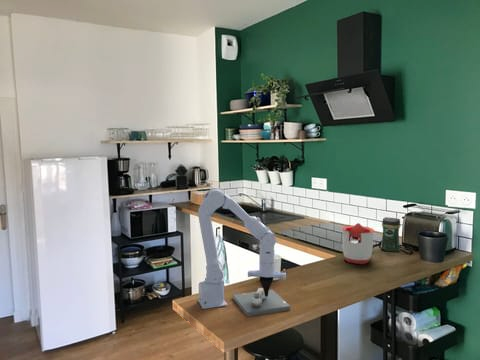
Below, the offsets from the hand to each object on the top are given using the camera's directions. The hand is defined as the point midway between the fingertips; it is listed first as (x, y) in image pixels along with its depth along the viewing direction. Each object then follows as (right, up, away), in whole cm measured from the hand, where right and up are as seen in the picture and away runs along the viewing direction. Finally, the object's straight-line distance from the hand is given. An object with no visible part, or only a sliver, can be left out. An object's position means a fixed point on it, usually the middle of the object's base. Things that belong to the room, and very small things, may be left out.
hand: (266, 295), depth 151 cm
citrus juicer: (+50, +3, +50) cm, 71 cm away
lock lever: (-3, -1, -3) cm, 5 cm away
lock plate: (-2, -3, -2) cm, 4 cm away
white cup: (+4, 0, +26) cm, 26 cm away
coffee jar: (+75, +5, +71) cm, 104 cm away
